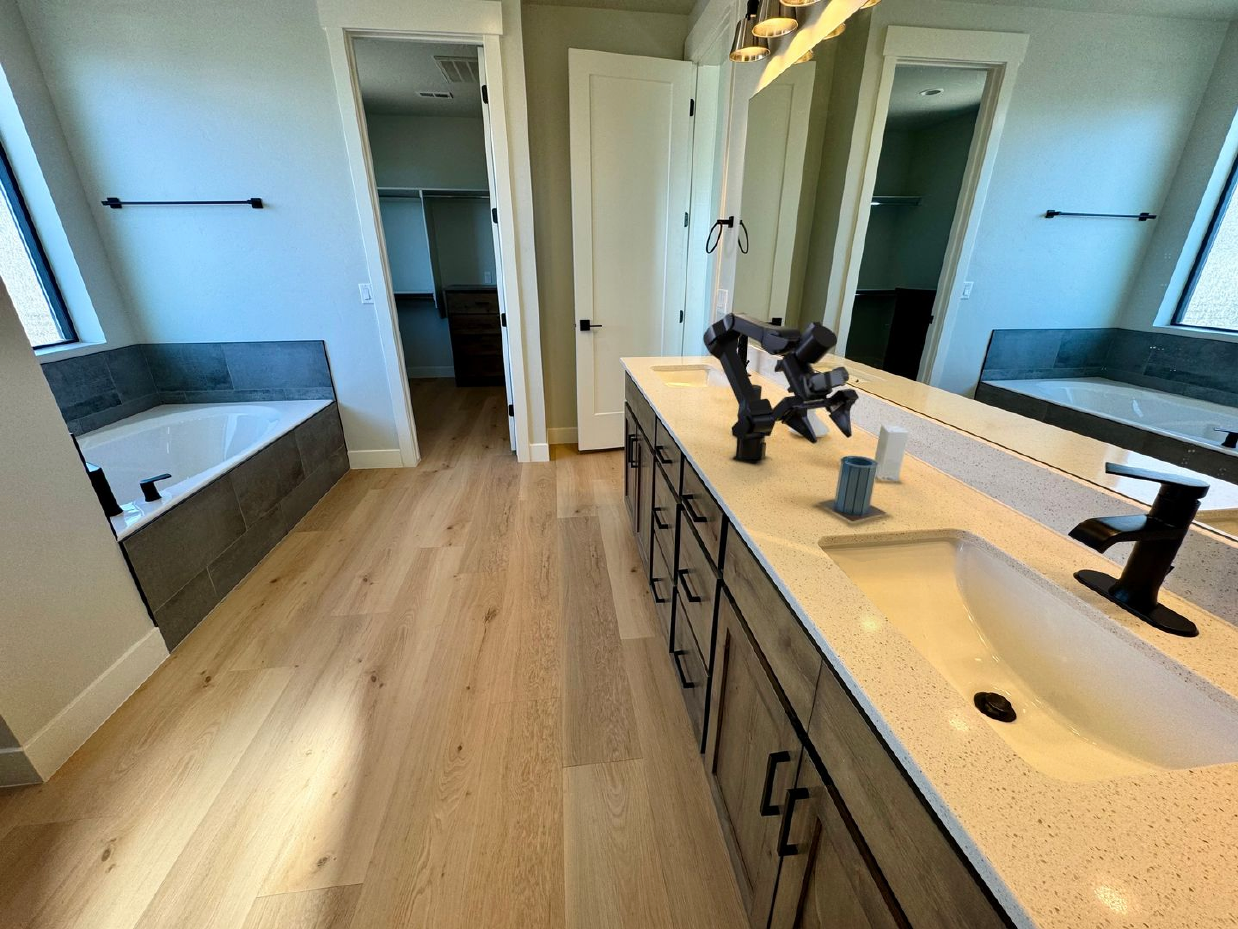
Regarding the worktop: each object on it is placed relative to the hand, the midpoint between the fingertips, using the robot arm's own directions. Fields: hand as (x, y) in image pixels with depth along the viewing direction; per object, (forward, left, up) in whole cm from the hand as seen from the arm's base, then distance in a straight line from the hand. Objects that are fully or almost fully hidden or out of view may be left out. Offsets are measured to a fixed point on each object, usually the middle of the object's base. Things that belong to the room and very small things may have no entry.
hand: (832, 439), depth 101 cm
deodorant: (-31, +30, -13) cm, 45 cm away
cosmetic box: (+8, +19, -13) cm, 25 cm away
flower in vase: (-17, +41, -13) cm, 47 cm away
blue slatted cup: (+6, -4, -12) cm, 14 cm away
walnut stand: (+6, -4, -13) cm, 15 cm away
